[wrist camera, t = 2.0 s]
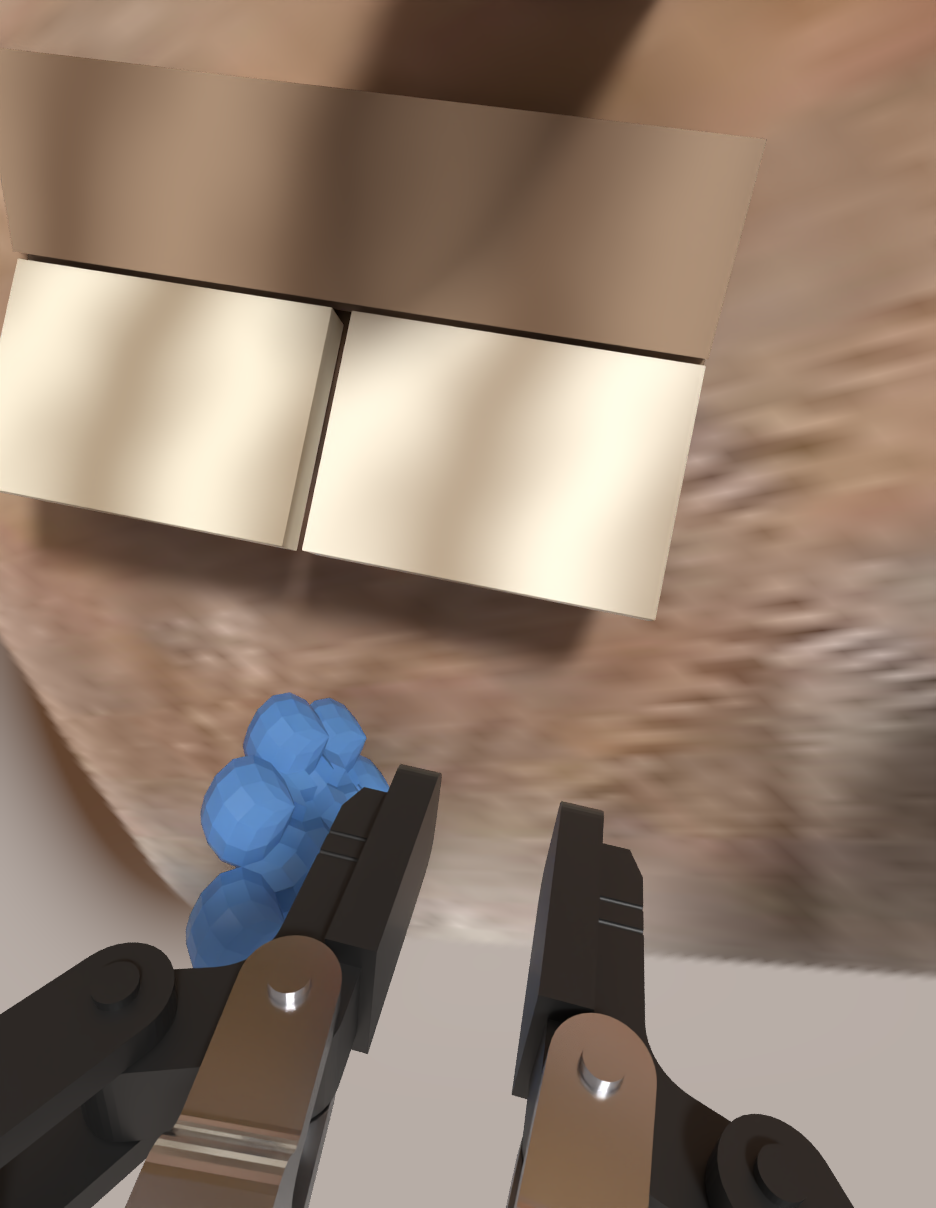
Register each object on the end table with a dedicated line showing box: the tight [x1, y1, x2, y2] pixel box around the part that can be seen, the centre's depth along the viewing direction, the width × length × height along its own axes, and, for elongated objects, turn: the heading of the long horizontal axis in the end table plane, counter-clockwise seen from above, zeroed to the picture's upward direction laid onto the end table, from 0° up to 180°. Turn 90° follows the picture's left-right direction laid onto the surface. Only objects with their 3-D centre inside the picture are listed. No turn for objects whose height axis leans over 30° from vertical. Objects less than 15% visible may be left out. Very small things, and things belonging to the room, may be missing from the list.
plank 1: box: [0, 259, 344, 551], centre depth 22 cm, size 10×7×1 cm
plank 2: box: [302, 311, 706, 621], centre depth 21 cm, size 10×7×1 cm
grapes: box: [186, 693, 390, 968], centre depth 25 cm, size 12×7×12 cm, turn 15°
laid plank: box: [0, 48, 767, 366], centre depth 20 cm, size 21×5×1 cm, turn 82°
